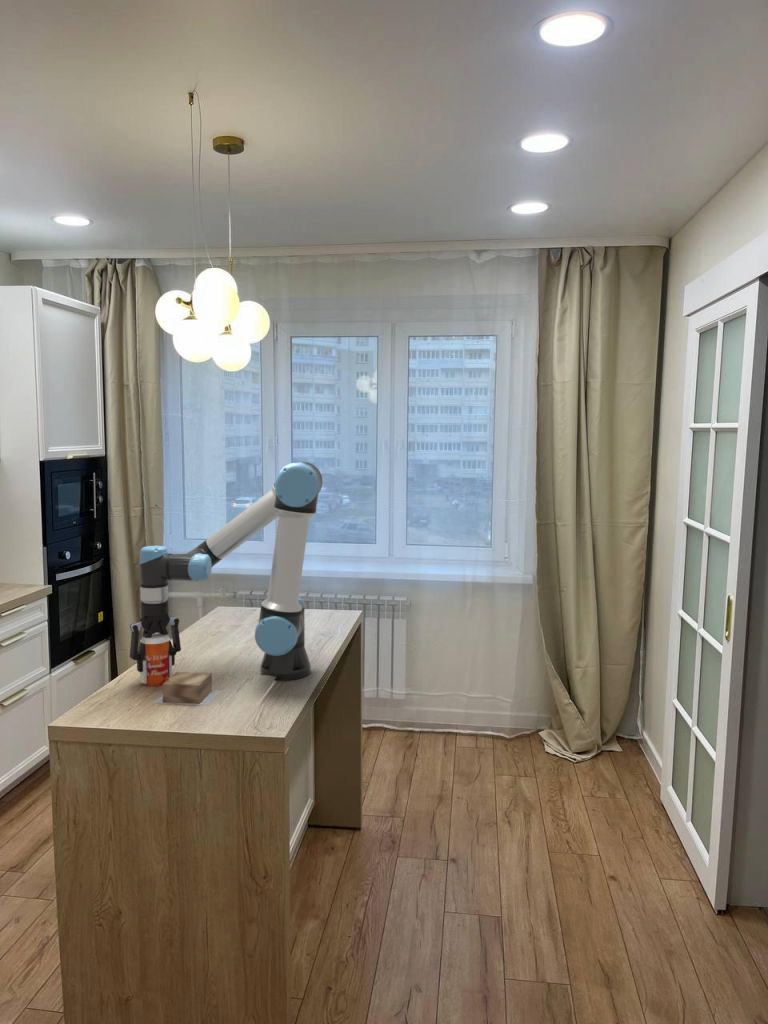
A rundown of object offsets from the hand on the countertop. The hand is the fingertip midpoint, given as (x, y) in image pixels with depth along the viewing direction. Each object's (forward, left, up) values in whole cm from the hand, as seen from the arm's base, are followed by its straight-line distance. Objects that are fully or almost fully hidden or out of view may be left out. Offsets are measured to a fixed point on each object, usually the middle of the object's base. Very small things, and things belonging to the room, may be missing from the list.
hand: (156, 679), depth 208 cm
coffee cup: (0, 0, -2) cm, 2 cm away
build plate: (-13, +10, -2) cm, 17 cm away
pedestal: (-13, +10, -1) cm, 17 cm away
